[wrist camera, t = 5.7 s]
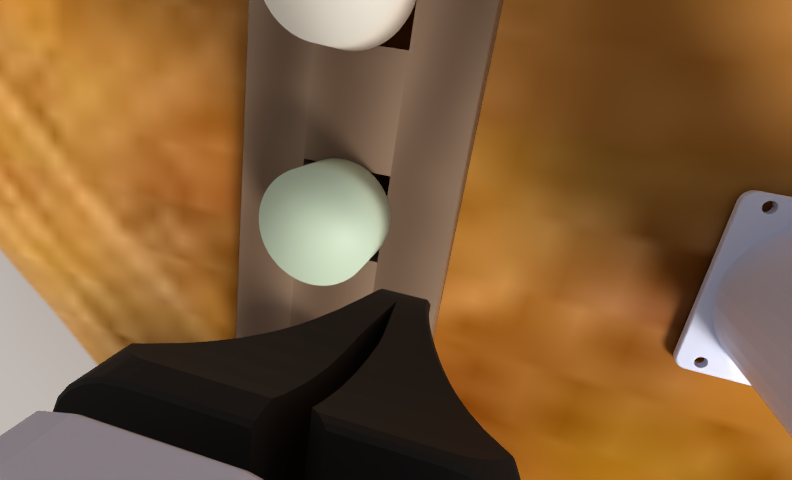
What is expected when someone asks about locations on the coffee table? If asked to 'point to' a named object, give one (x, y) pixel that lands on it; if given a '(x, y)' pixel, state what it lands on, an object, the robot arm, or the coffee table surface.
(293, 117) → the console
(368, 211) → the button sage
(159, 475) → the robot arm
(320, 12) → the button cream
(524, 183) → the coffee table surface
